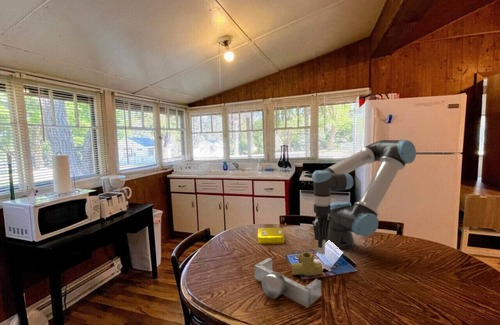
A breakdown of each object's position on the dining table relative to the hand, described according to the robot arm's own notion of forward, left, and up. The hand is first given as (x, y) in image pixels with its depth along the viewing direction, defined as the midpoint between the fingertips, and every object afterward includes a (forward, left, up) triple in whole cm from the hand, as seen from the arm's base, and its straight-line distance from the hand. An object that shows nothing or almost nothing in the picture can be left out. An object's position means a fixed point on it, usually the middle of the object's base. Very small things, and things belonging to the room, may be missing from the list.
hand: (321, 253), depth 117 cm
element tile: (-5, -36, -5) cm, 37 cm away
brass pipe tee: (+12, 0, -5) cm, 13 cm away
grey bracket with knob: (+30, 0, -4) cm, 30 cm away
